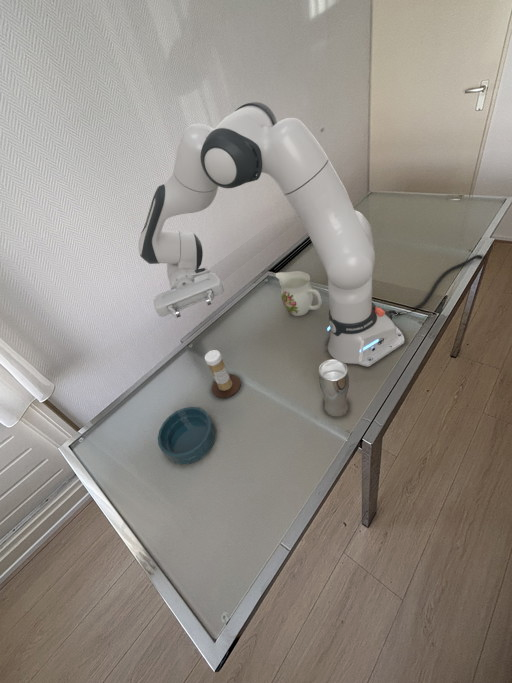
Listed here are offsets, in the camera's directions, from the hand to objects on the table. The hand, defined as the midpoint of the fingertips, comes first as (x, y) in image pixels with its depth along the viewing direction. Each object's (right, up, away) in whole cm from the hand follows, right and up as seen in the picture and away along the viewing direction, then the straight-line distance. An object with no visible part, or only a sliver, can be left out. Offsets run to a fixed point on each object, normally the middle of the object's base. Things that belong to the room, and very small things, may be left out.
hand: (193, 309), depth 87 cm
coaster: (+8, -23, +11) cm, 26 cm away
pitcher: (+34, +2, +29) cm, 45 cm away
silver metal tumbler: (+38, -26, -3) cm, 46 cm away
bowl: (-1, -36, -1) cm, 36 cm away
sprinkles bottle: (+8, -22, +10) cm, 26 cm away
